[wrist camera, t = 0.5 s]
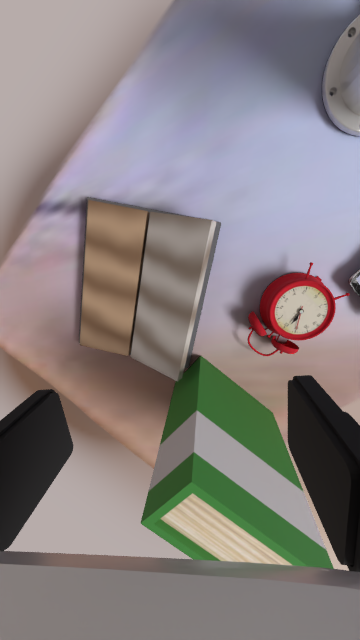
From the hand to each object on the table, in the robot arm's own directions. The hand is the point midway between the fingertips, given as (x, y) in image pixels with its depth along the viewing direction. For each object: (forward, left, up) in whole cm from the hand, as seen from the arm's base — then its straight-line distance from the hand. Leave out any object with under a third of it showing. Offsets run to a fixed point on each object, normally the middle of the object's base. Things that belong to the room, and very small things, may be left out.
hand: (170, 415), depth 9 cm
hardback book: (+19, +9, -31) cm, 38 cm away
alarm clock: (+1, +15, -31) cm, 34 cm away
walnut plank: (+2, -14, -31) cm, 34 cm away
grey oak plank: (+2, -4, -28) cm, 28 cm away
